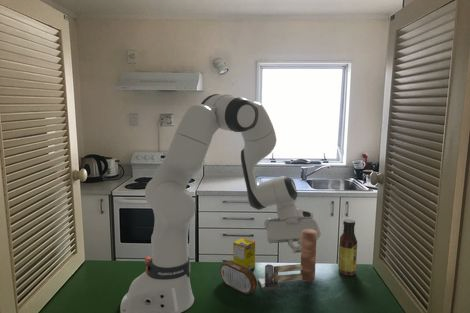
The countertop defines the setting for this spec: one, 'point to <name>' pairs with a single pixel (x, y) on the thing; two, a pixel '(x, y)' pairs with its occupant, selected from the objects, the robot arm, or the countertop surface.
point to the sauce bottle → (348, 249)
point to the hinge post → (268, 280)
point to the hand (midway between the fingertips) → (297, 252)
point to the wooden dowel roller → (306, 260)
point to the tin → (238, 277)
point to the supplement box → (244, 253)
